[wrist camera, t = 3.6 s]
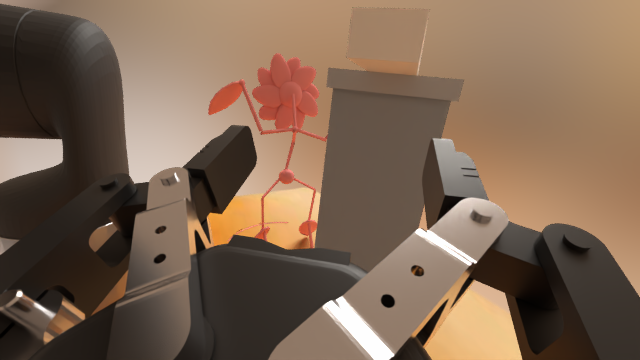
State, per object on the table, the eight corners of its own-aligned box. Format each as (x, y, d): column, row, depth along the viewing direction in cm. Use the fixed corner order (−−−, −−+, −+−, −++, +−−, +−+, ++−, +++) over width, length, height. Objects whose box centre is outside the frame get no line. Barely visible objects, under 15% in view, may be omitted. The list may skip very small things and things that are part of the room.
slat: (418, 62, 14) (429, 8, 13) (345, 57, 15) (352, 7, 14) (415, 84, 34) (420, 63, 33) (384, 81, 35) (387, 61, 34)
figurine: (350, 246, 55) (377, 64, 44) (220, 278, 42) (213, 34, 32) (315, 215, 68) (329, 68, 57) (206, 233, 55) (198, 47, 44)
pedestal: (386, 373, 31) (464, 79, 20) (299, 339, 34) (328, 67, 23) (394, 297, 42) (445, 87, 32) (328, 277, 45) (357, 78, 35)
